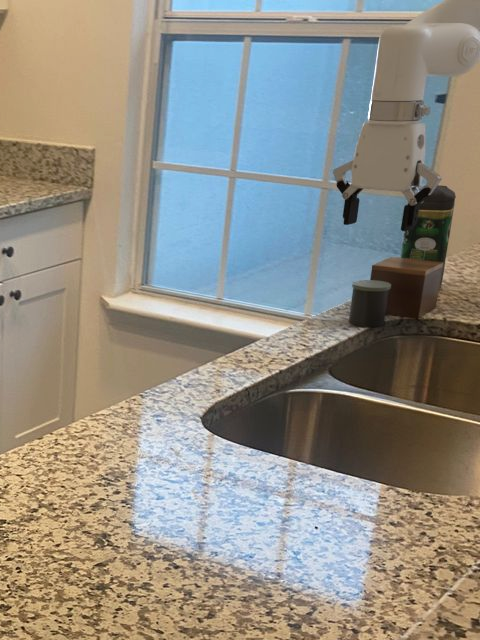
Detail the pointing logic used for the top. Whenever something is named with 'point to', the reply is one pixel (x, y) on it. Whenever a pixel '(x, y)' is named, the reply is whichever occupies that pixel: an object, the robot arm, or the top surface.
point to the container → (369, 303)
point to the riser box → (409, 285)
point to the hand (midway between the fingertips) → (377, 227)
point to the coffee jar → (431, 228)
